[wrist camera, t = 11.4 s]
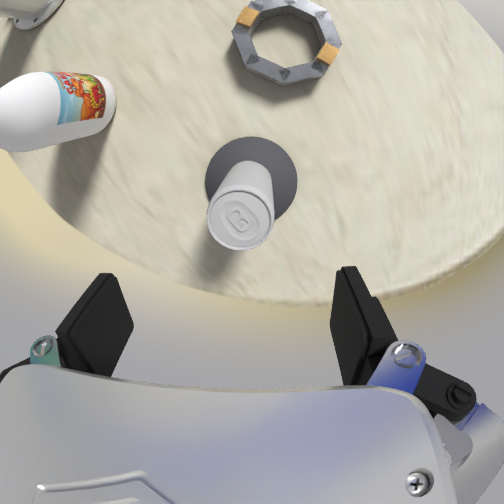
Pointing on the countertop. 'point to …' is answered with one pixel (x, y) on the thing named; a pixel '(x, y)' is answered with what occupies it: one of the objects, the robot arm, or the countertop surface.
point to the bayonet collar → (274, 3)
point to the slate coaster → (264, 155)
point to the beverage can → (242, 207)
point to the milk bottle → (53, 109)
